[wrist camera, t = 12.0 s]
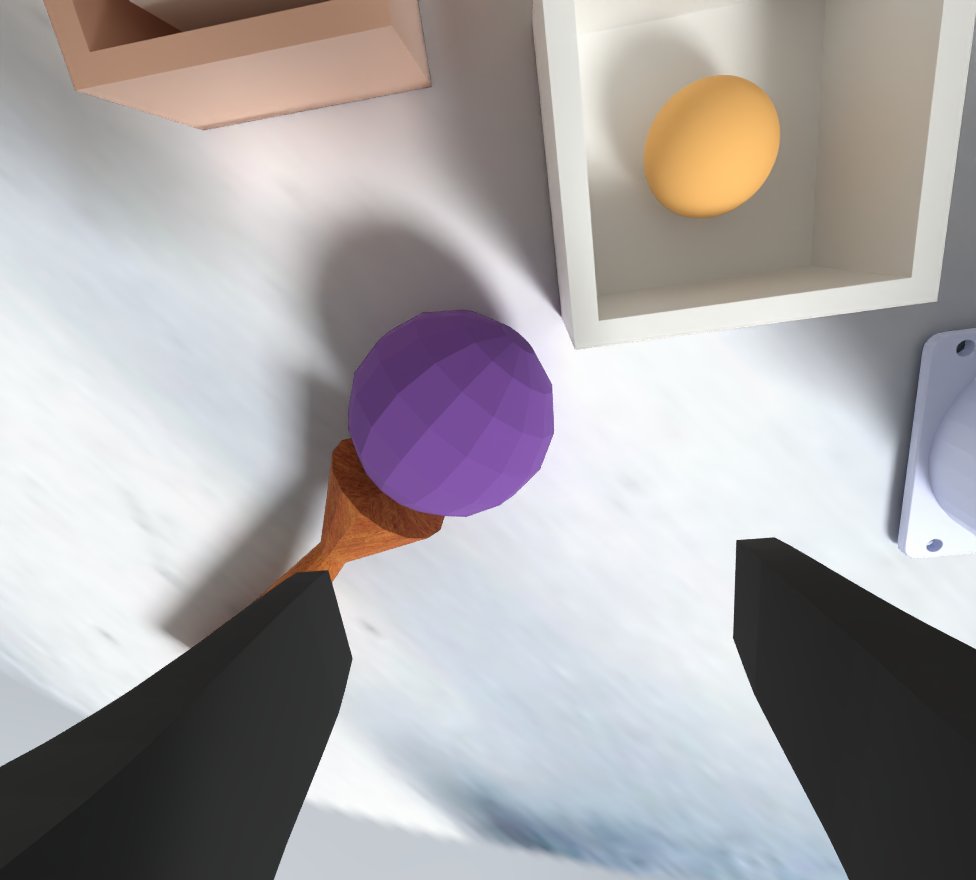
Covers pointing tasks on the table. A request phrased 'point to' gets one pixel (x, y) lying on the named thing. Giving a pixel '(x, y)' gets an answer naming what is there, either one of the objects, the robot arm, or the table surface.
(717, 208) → the orange ball
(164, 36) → the salmon open box
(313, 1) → the white block
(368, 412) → the kendama
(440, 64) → the table surface
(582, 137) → the white open box
